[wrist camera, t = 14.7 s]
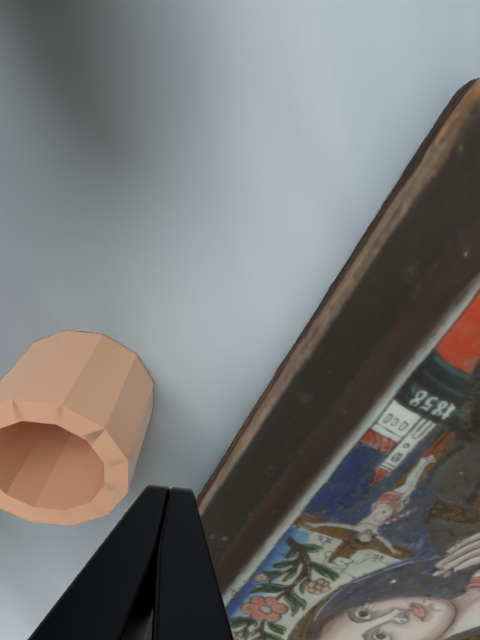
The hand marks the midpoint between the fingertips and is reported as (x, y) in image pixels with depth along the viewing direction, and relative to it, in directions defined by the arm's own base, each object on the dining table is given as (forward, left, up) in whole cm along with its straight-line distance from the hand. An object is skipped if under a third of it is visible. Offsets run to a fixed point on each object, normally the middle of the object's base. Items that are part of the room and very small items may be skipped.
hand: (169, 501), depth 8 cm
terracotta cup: (+8, -6, -13) cm, 16 cm away
